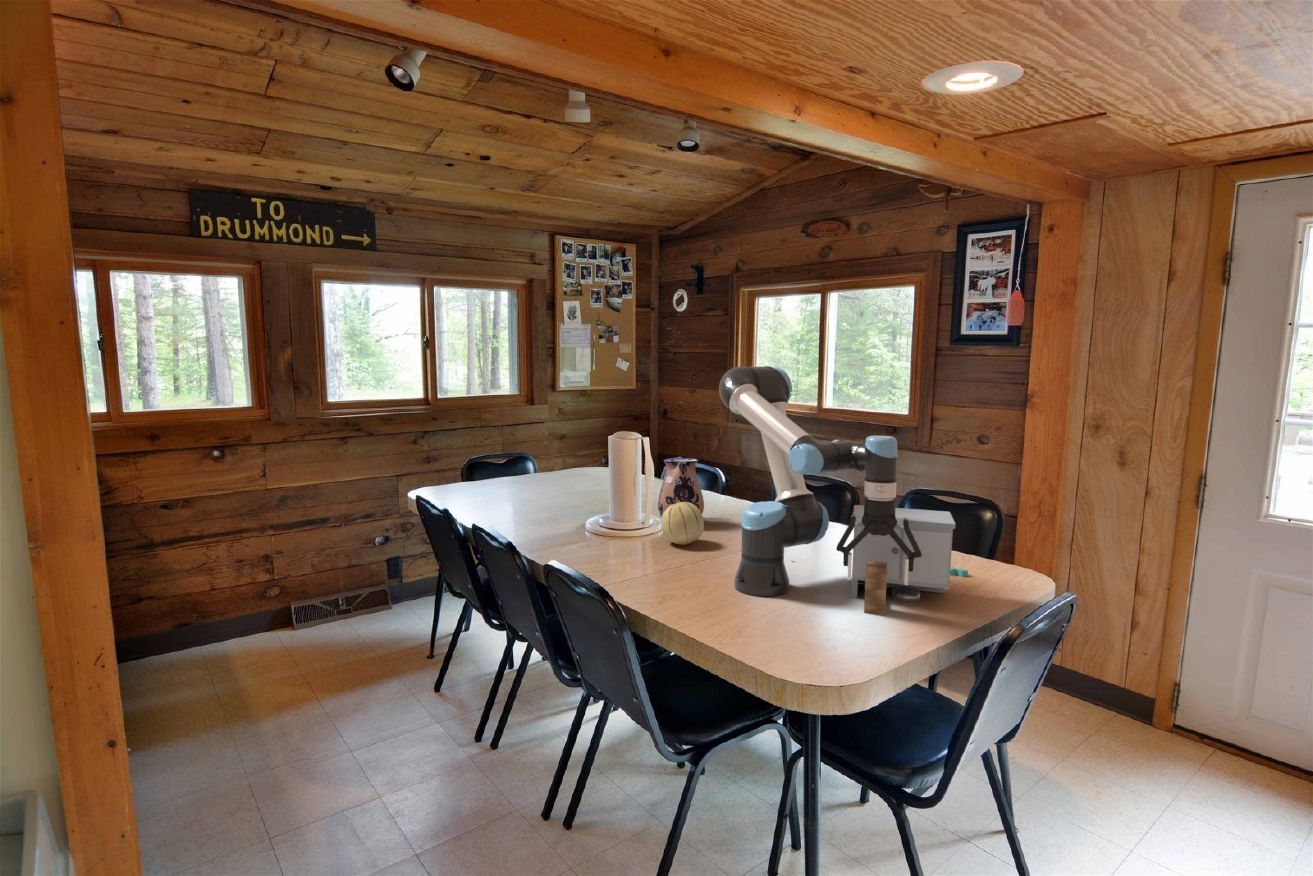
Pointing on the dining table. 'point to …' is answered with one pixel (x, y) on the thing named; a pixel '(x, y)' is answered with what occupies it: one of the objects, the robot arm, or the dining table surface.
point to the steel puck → (906, 594)
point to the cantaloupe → (682, 523)
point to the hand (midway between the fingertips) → (877, 581)
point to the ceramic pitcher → (680, 484)
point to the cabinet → (931, 539)
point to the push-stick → (875, 587)
